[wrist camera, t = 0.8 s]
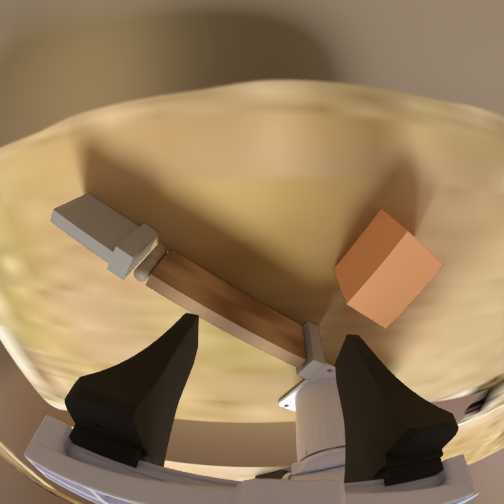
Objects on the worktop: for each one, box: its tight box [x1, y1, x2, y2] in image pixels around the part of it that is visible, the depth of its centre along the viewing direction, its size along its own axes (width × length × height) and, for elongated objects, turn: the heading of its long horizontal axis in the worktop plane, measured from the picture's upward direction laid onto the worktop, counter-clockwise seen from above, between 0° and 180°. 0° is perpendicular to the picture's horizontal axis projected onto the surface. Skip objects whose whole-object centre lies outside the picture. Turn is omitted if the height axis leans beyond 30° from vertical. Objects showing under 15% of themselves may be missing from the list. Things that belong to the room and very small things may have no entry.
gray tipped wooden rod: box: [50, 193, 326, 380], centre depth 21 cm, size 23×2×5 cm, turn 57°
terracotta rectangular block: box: [333, 209, 443, 329], centre depth 19 cm, size 4×6×5 cm, turn 147°
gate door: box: [134, 244, 306, 368], centre depth 21 cm, size 14×1×4 cm, turn 57°
